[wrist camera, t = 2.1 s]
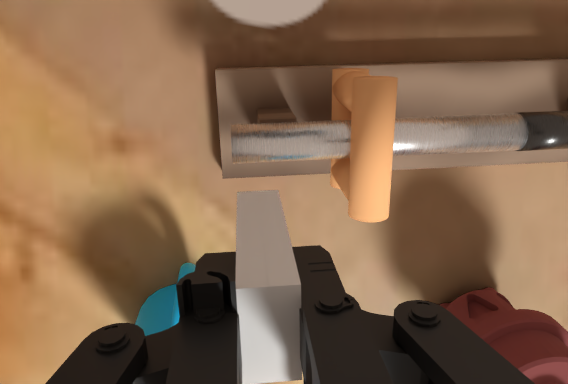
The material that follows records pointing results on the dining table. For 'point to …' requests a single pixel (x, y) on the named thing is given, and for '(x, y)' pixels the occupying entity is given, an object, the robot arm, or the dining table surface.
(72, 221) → the dining table surface
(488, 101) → the stand
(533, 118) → the rod
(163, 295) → the mug
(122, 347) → the robot arm
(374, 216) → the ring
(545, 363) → the mechanical component
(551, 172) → the dining table surface
